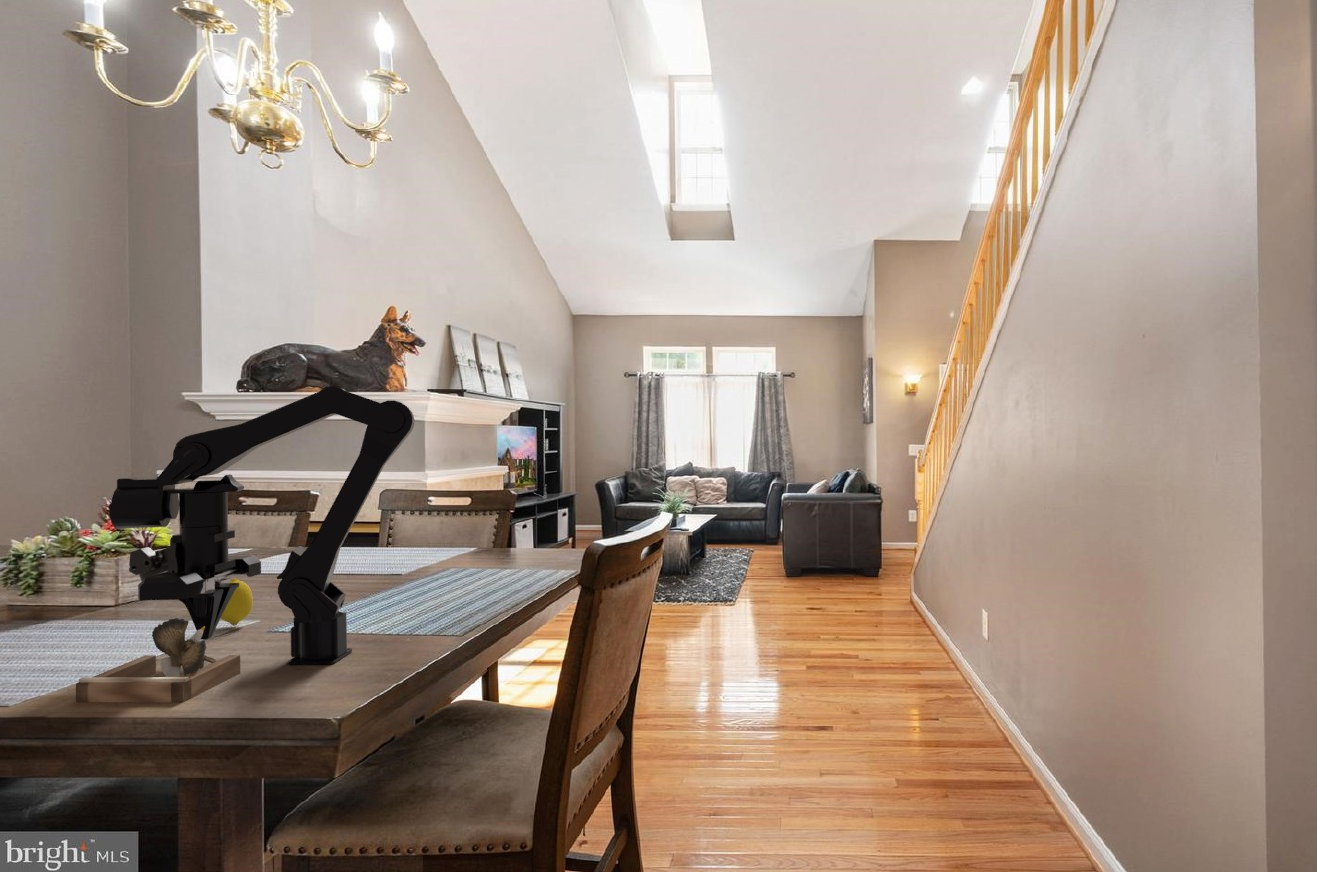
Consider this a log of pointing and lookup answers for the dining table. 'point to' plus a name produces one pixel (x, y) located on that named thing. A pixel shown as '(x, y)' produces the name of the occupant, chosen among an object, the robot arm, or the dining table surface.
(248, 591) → the lemon
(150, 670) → the wooden tray
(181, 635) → the eagle figurine
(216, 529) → the robot arm
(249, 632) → the dining table surface
